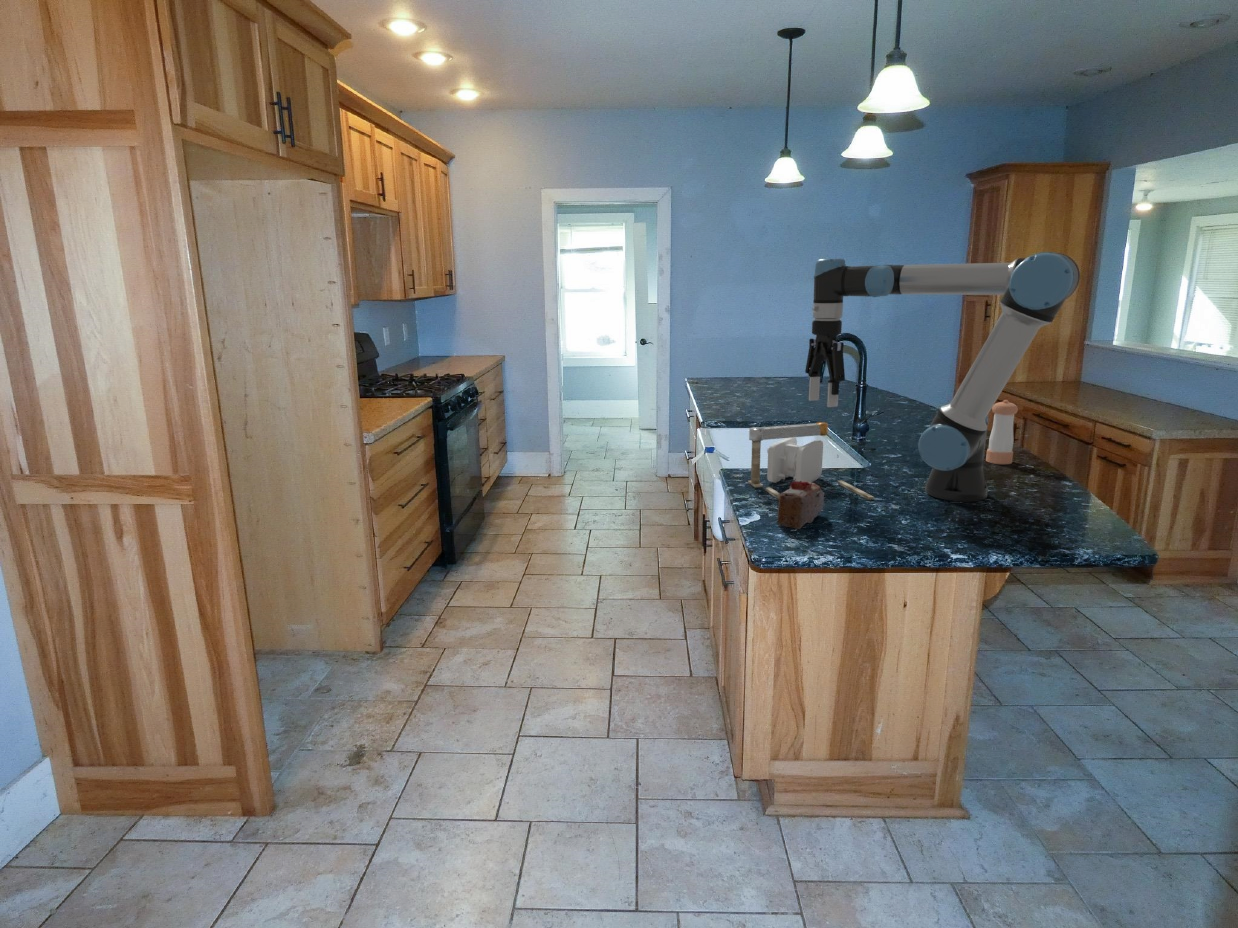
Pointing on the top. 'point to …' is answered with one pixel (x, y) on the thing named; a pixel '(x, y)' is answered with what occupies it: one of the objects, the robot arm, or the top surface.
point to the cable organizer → (794, 460)
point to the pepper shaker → (1002, 433)
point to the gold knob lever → (788, 431)
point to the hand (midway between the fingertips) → (822, 403)
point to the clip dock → (756, 483)
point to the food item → (800, 504)
